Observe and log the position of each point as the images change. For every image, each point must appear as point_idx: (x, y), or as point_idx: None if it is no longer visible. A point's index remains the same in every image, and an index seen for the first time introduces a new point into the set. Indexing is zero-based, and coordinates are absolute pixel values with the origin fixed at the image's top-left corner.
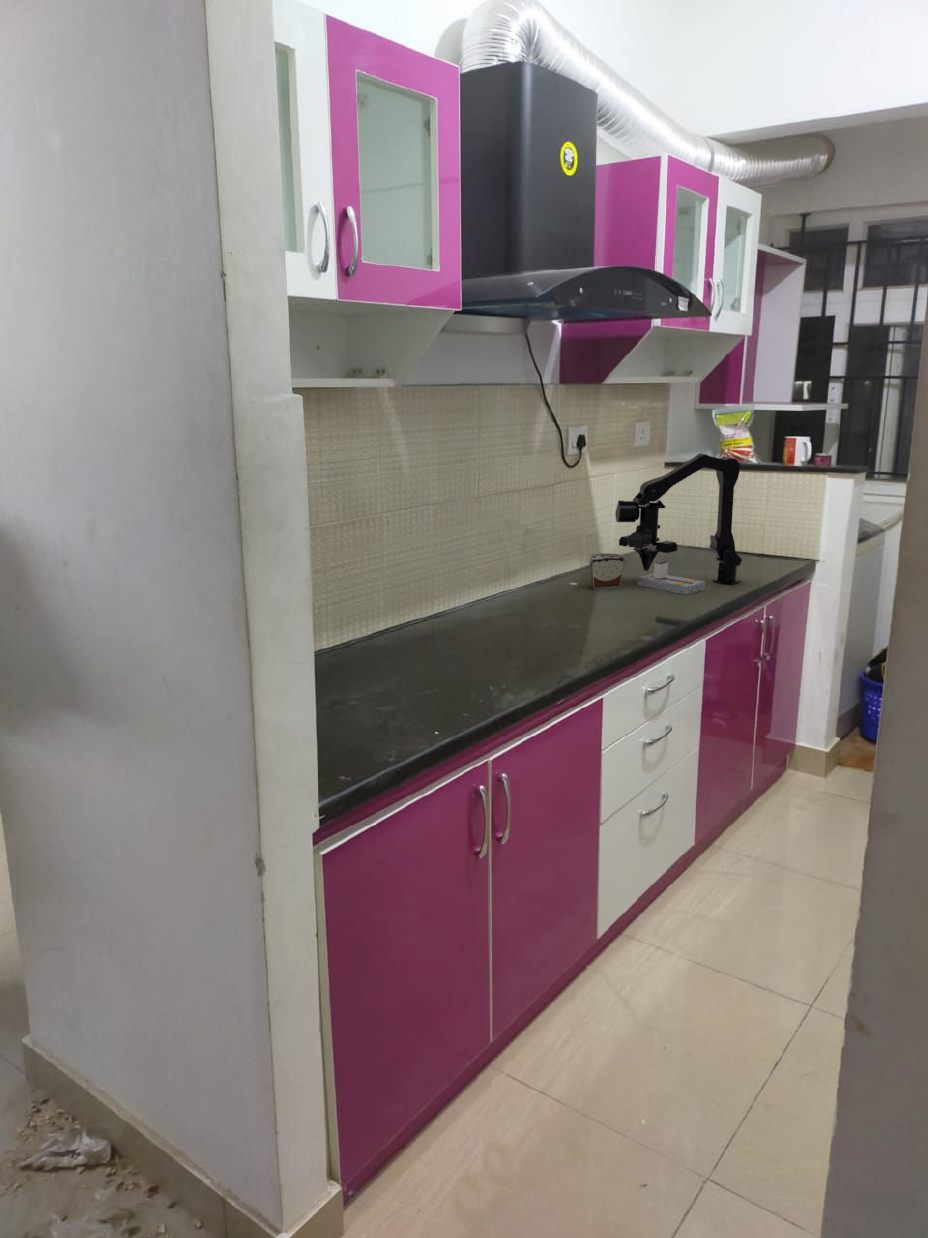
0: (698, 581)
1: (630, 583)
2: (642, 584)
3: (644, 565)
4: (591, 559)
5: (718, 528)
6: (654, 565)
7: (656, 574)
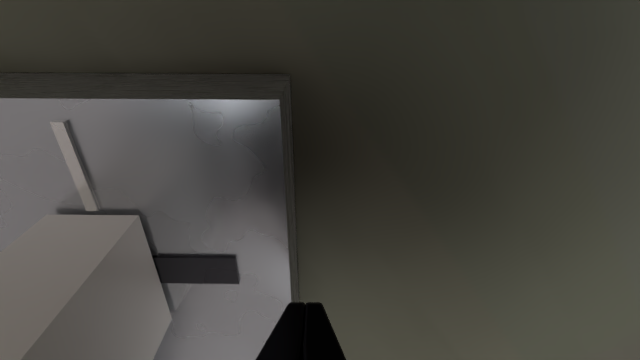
0: None
1: (397, 91)
2: (220, 78)
3: (310, 357)
4: None
5: None
6: (20, 357)
7: (70, 242)
